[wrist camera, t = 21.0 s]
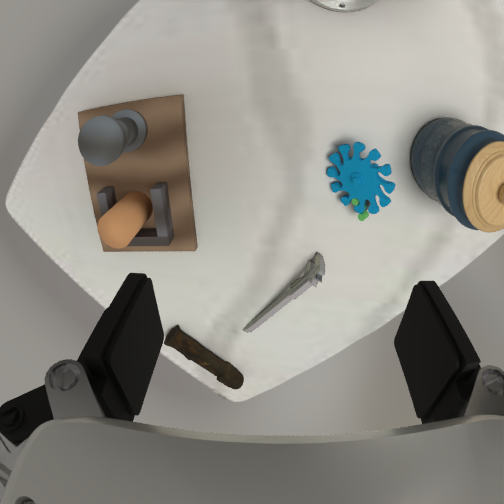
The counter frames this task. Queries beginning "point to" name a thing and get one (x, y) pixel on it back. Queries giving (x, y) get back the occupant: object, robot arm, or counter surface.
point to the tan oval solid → (125, 219)
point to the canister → (462, 171)
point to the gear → (360, 179)
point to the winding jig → (142, 168)
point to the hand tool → (204, 358)
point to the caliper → (292, 291)
